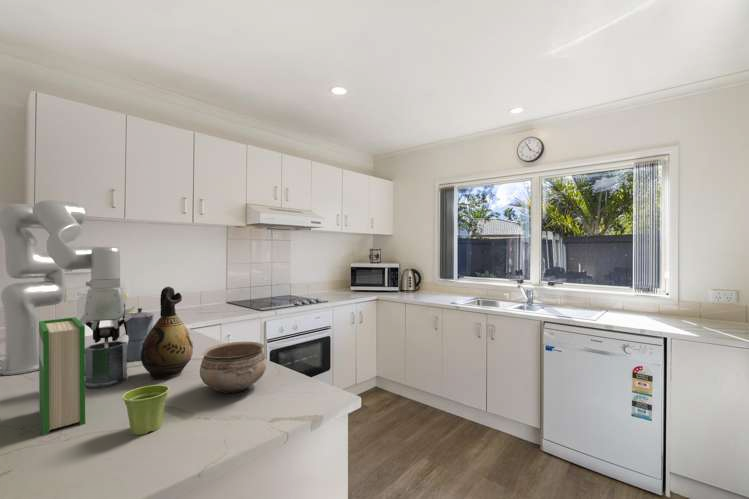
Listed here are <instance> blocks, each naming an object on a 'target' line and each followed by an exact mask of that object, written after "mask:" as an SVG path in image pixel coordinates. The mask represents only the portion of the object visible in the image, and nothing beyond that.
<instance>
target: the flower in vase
mask: <svg viewBox="0 0 749 499" xmlns="http://www.w3.org/2000/svg"><path fill="white" fill-rule="evenodd" d="M123 292H124V296H125V302H127V301H128V300H129V294H128V292H125V291H124V290H123ZM126 310H127V311H128V312H129V313H132V311H134V310H135V305H134V306H132V307H129V308H128V309H126ZM128 340H129V339H128V335H126V332H125V331H124V332H123V334H121V335H120V336H119V338H118V339H117V340H116V341H122V342H127V344H128Z"/></svg>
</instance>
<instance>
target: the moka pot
mask: <svg viewBox="0 0 749 499" xmlns="http://www.w3.org/2000/svg"><path fill="white" fill-rule="evenodd" d="M129 313H130V315H131V316H132V318H131V319H129V320H127V321H126V322H125V323H124V324H123V327H124V333H125V332H126V335H128V339H129V340H128V344H127V362H128V361H129V362H138V361H141V350H142V347H143V343H144V341H145V339H146V337H147V335H148V334H149V332H150V330H151V329H152V328H153V322H154V318H155V317H154V316H155V314H154V313H151V312H146V311H145V312H144V311H143V308H142V307H139V308H137V312H135V313H133V312H129ZM124 318H125V316H124V317H121V319H124Z"/></svg>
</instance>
